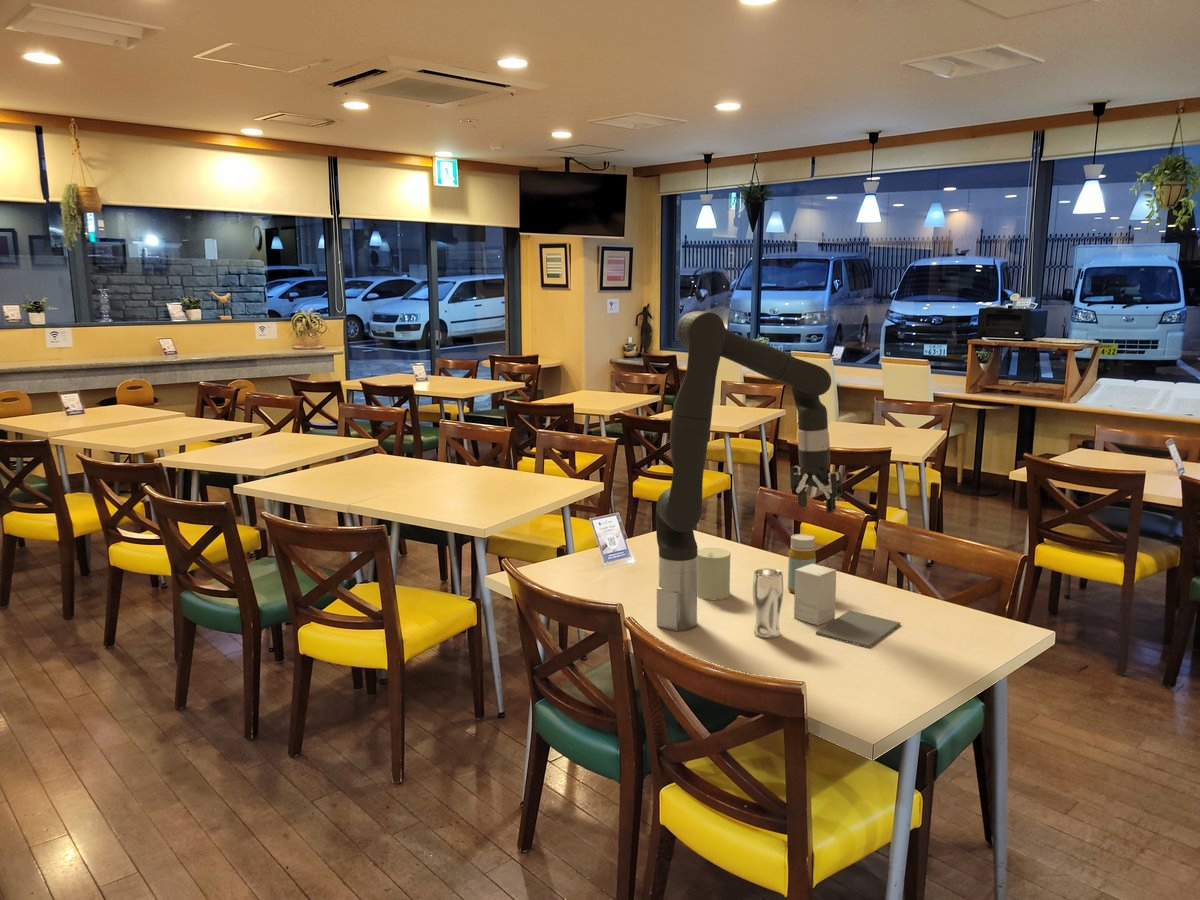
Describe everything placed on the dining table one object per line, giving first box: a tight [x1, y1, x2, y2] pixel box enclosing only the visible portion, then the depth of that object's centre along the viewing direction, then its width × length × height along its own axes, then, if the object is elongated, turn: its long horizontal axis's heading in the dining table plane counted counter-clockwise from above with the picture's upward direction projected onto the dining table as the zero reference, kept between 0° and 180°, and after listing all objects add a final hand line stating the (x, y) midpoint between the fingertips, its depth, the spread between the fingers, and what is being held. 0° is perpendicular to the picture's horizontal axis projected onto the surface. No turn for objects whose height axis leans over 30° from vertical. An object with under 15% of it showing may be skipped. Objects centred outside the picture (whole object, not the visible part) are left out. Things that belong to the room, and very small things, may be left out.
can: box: [697, 547, 731, 601], centre depth 232 cm, size 9×9×12 cm
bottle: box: [787, 533, 817, 594], centre depth 234 cm, size 7×7×15 cm
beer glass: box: [752, 567, 784, 639], centre depth 205 cm, size 7×7×15 cm
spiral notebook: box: [815, 610, 901, 648], centre depth 208 cm, size 18×13×1 cm
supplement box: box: [793, 564, 837, 626], centre depth 215 cm, size 7×7×13 cm
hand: (816, 509), depth 219 cm, fingers open, 8 cm apart
